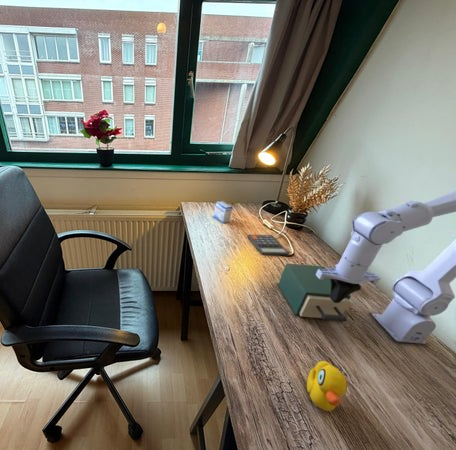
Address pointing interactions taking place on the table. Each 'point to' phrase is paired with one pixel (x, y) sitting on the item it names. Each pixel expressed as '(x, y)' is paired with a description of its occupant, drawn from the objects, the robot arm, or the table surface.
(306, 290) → the cabinet
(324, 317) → the drawer
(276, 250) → the calculator
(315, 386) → the duckling
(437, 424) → the table surface
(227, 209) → the medicine box
